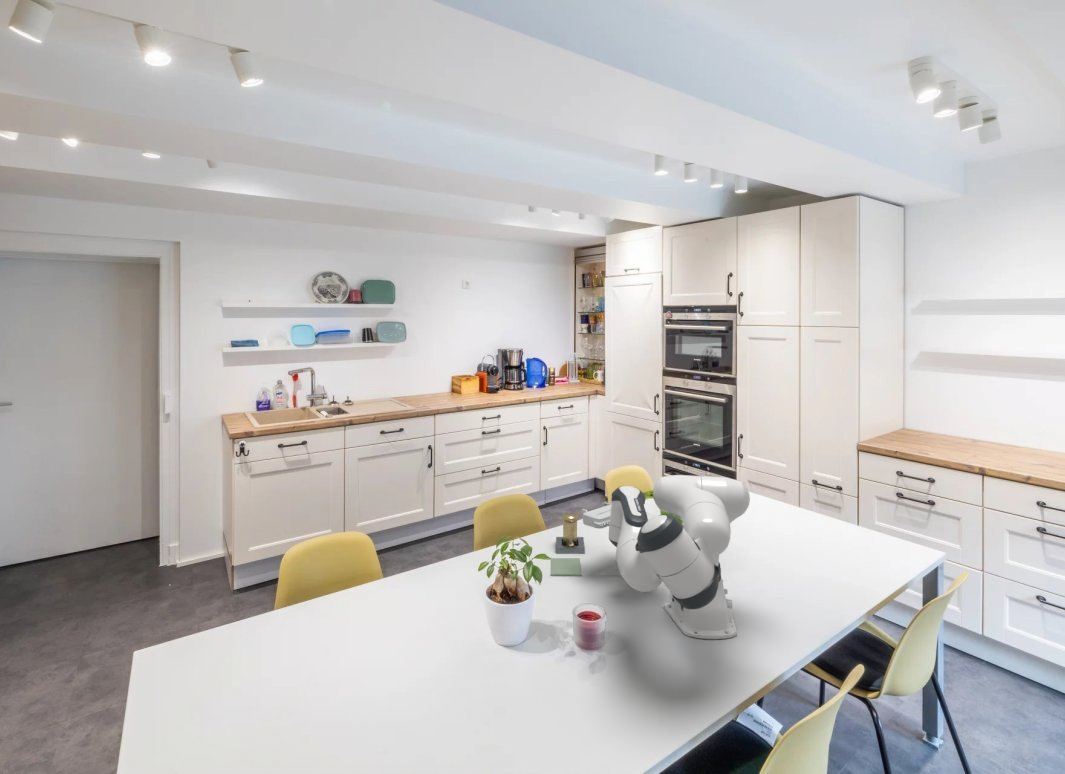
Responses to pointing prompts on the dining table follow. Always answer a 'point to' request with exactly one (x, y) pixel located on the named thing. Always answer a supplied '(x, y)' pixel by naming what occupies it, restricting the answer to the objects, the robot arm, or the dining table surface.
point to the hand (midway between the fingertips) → (592, 507)
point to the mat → (565, 567)
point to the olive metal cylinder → (569, 529)
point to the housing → (570, 547)
